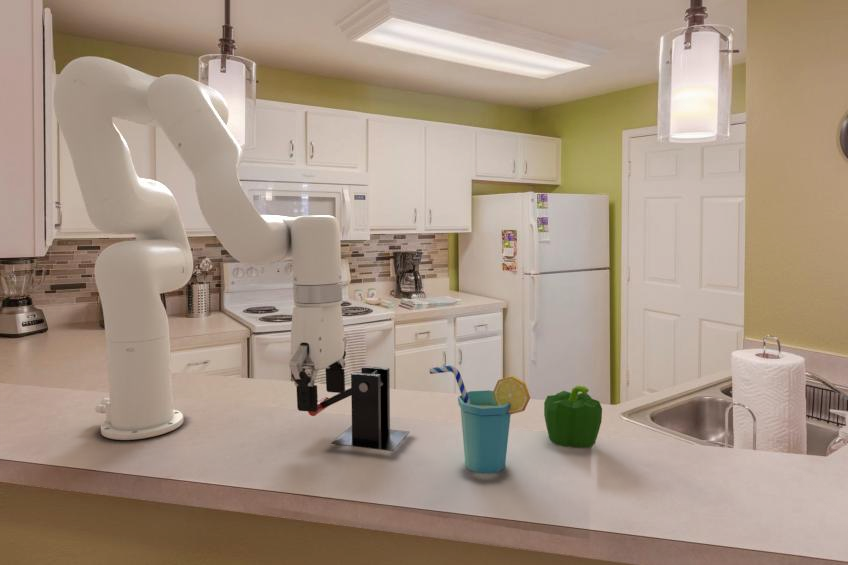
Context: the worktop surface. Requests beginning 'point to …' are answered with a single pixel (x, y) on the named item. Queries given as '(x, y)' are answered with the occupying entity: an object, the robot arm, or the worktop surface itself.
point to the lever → (336, 398)
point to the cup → (488, 420)
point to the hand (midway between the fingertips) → (322, 400)
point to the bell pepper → (573, 418)
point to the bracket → (371, 412)
